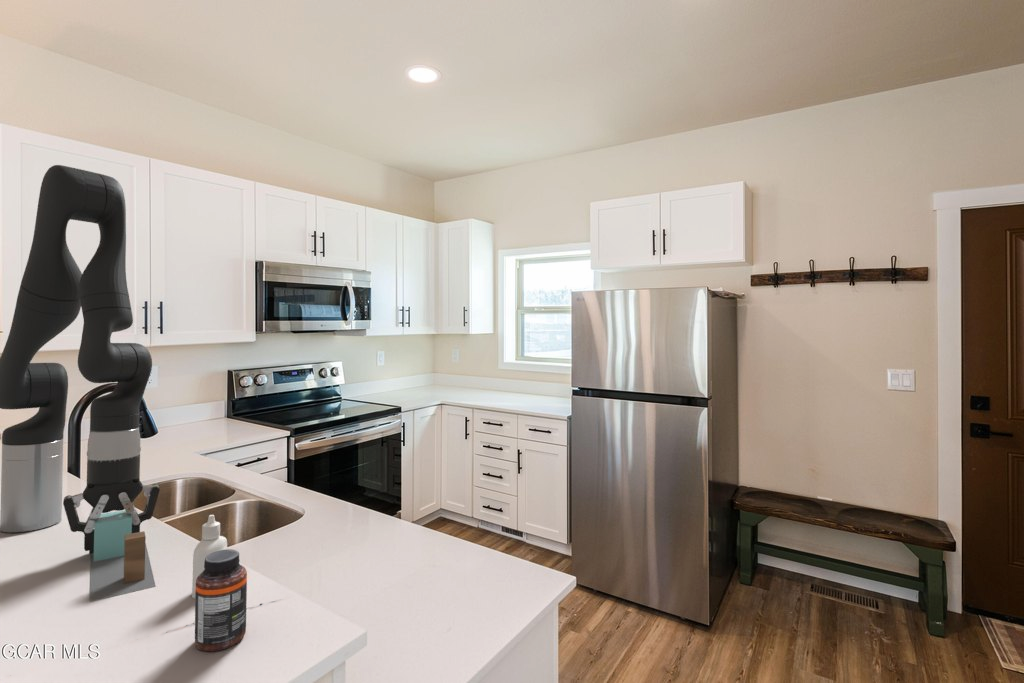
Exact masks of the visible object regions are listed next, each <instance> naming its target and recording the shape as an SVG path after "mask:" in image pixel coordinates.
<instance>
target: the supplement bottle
mask: <svg viewBox="0 0 1024 683" xmlns="http://www.w3.org/2000/svg"><path fill="white" fill-rule="evenodd" d="M204 568H205V569H204V571H203V572H202V573H200V575H199V576H198V577H197V579H196V589H195V590H196V593H195V595H196V597H195V603H194V604H195V605H194V606H195V607H194V644H195V647H196V648H197V649H199V650H201V651H203V652H216V651H222V650H221V649H223V650H226V649H229V648H230V647H232V646H234V645H236V644H237V643H239V642H240V641H241V640H242V639H243V638H244V637H245V634H246V632H247V596H248V593H247V591H248V586H247V585H248V583H247V582H248V573H247V572H248V571H247V569H246V567H245V566H243V565H242V564H240V552H239V551H238V550H236V549H228V548H227V549H226V550H219V551H215V552H213V553H210V554H209V555H207V556H206V557H205V562H204ZM225 648H226V649H225Z"/></svg>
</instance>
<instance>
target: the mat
mask: <svg viewBox="0 0 1024 683" xmlns="http://www.w3.org/2000/svg"><path fill="white" fill-rule="evenodd" d="M146 542H147V541H145V580H140V581H136V582H131V583H127V584H124V556H120V557H115V558H110V559H105V560H100V561H95V562H94V553H91V554H90V564H89V565H90V566H89V567H90V569H89V571H90V573H89V578H90V579H89V603H93V602H96V601H101V600H104V599H110V598H113V597H118V596H123V595H126V594H129V593H134V592H139V591H143V590H148V589H151V588H155V587H157V586H156V582H155V577H154V573H153V569H152V565H151V560H150V557H149V552H148V547H147V543H146Z"/></svg>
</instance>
